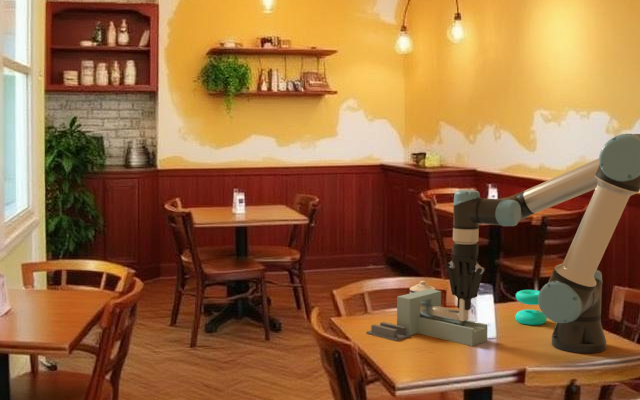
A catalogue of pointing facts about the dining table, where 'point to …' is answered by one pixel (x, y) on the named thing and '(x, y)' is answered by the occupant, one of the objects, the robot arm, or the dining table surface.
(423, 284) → the teacup with lid
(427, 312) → the dowel
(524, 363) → the dining table surface
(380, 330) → the cradle
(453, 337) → the shelf
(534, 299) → the donuts
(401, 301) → the grey-green rectangular arch
